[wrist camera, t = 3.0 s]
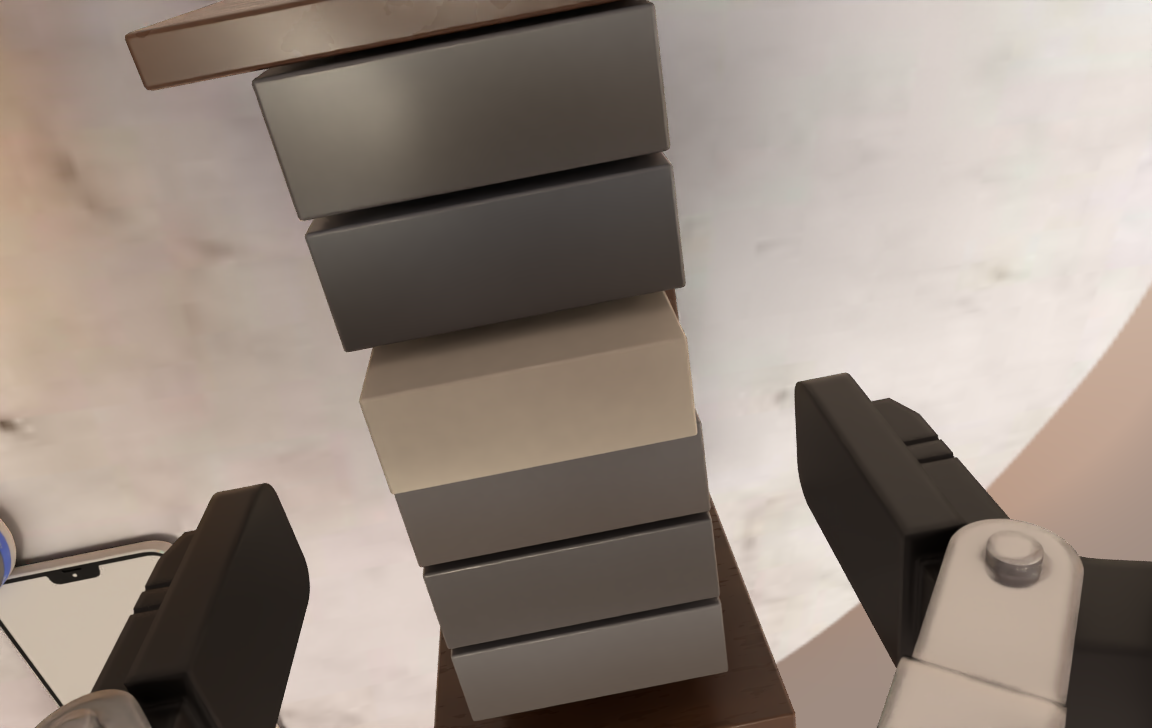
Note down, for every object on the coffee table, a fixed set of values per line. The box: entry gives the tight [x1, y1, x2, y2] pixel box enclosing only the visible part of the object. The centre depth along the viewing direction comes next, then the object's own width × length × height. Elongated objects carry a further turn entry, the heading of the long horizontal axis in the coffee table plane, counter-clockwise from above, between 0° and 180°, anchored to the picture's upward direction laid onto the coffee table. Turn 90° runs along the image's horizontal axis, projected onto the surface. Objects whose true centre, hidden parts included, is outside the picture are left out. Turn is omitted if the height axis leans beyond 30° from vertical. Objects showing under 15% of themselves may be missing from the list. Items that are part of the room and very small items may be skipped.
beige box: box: [359, 291, 697, 494], centre depth 19 cm, size 2×6×12 cm, turn 100°
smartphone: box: [0, 541, 279, 728], centre depth 33 cm, size 7×1×15 cm
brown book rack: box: [125, 0, 796, 728], centre depth 21 cm, size 18×9×12 cm, turn 10°
